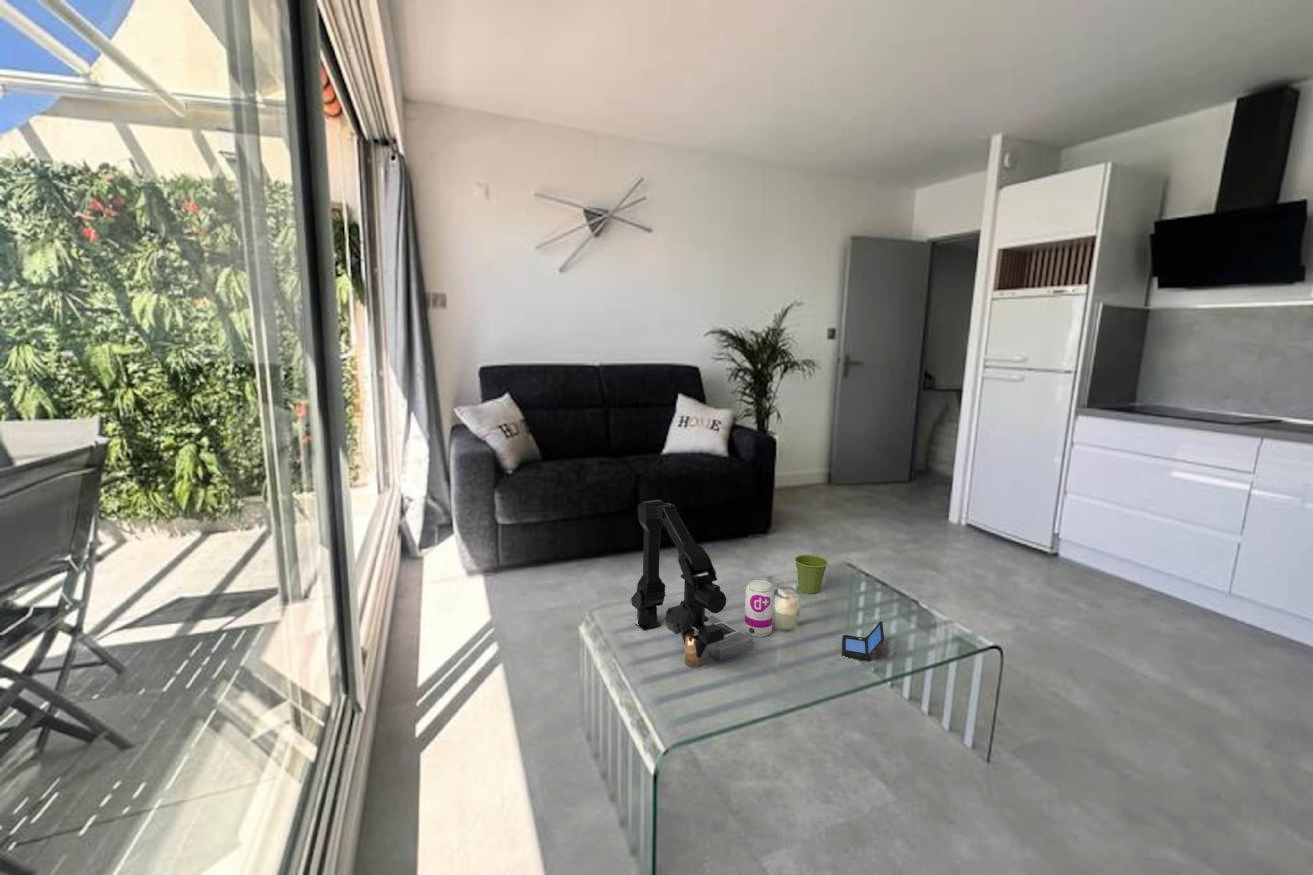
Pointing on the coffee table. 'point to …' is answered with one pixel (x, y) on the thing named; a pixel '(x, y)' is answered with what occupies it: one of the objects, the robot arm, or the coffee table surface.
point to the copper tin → (691, 651)
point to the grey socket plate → (727, 641)
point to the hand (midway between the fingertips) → (693, 653)
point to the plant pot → (810, 572)
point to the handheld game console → (863, 644)
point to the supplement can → (759, 608)
